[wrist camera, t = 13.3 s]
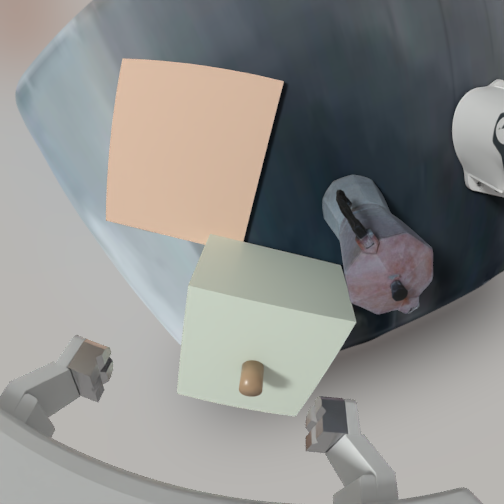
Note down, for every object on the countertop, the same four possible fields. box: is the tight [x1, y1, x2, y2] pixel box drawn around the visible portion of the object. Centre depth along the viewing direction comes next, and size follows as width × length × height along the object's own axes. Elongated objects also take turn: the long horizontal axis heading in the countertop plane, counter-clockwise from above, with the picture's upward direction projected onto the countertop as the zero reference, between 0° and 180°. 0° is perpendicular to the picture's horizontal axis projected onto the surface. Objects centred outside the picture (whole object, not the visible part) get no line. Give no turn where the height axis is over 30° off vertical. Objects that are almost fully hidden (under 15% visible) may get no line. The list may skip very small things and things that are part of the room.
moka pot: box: [322, 175, 433, 314], centre depth 33 cm, size 10×15×20 cm, turn 46°
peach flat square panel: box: [106, 59, 284, 245], centre depth 40 cm, size 22×25×1 cm
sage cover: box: [177, 234, 356, 416], centre depth 44 cm, size 20×23×17 cm
